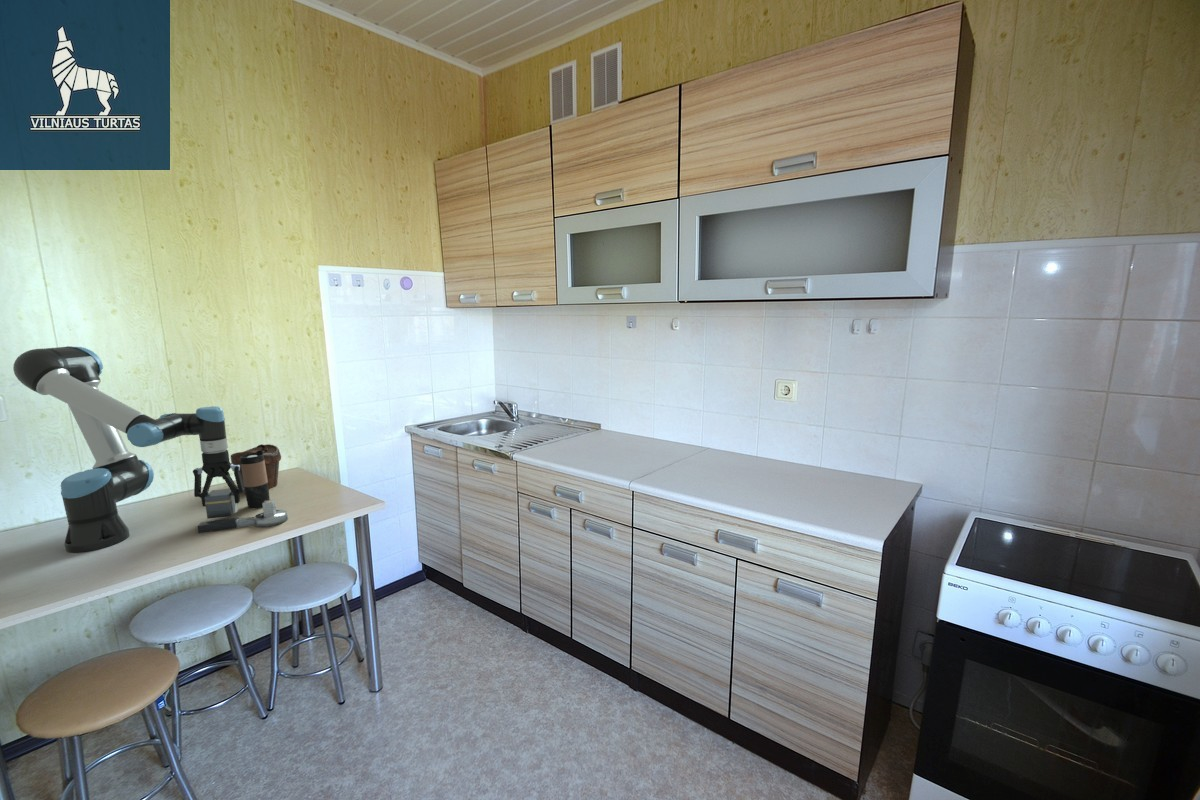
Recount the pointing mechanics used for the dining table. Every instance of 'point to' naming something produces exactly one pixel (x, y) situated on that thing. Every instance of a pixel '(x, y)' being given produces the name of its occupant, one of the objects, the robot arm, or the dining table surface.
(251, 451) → the brown tapered pot
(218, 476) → the robot arm
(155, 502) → the dining table surface
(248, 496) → the travel mug
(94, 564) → the dining table surface
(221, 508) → the gold-striped grey cube
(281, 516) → the ratchet
